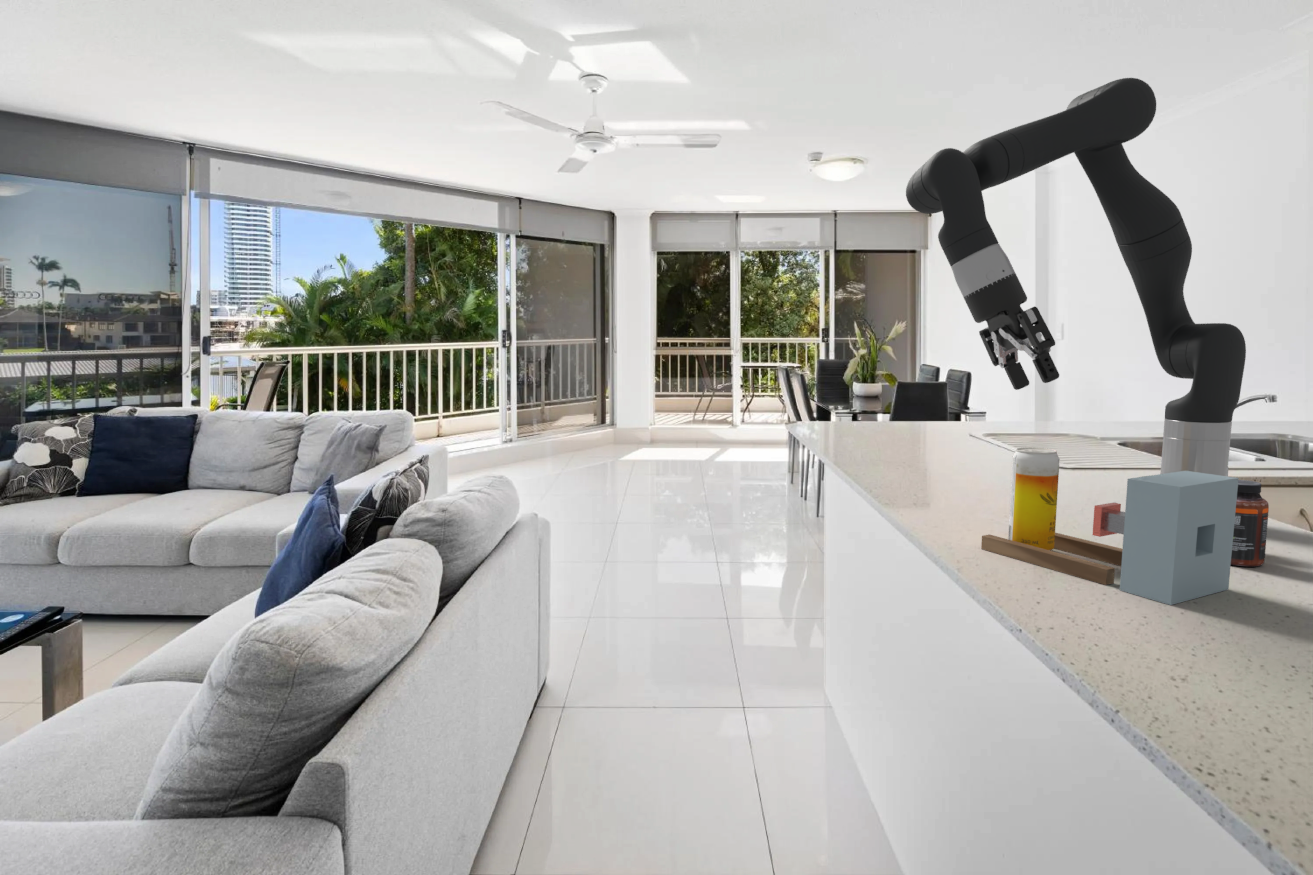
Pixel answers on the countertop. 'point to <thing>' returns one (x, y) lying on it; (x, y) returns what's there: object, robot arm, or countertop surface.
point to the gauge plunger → (1108, 519)
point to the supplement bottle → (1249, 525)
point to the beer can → (1034, 497)
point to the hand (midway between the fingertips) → (1036, 384)
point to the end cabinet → (1178, 535)
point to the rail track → (1062, 556)
